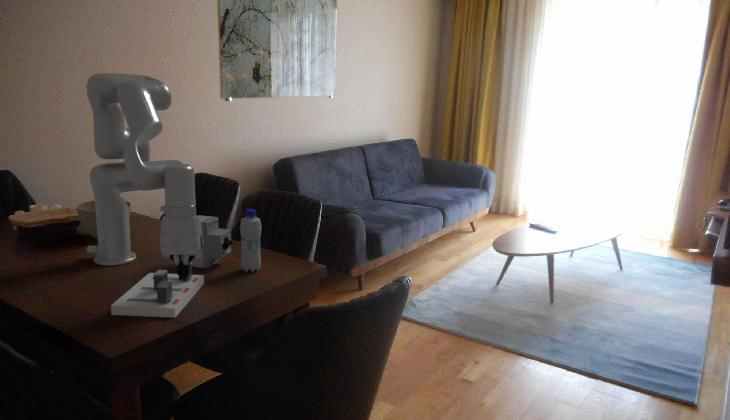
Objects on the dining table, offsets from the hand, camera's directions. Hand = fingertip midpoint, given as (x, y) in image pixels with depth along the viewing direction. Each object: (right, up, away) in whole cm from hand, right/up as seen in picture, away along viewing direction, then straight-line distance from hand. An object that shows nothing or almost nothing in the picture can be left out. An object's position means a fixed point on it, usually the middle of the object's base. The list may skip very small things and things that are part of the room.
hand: (183, 277), depth 143 cm
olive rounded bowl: (-47, +8, +54) cm, 72 cm away
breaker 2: (-2, -1, +9) cm, 9 cm away
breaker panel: (-7, -6, +2) cm, 9 cm away
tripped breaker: (-7, -3, +1) cm, 7 cm away
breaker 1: (-3, -5, -7) cm, 9 cm away
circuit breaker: (-2, 0, +30) cm, 30 cm away
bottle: (+12, -1, +26) cm, 29 cm away
